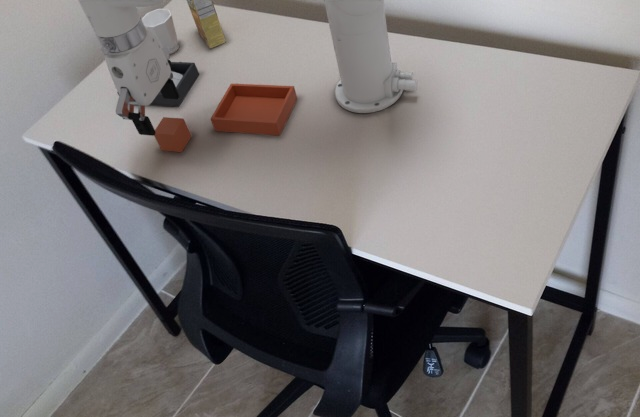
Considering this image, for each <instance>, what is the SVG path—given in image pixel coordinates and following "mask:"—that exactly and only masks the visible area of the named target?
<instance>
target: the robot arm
mask: <svg viewBox="0 0 640 417" xmlns="http://www.w3.org/2000/svg"><path fill="white" fill-rule="evenodd" d="M77 1H78V3H79V5H80V7H81V8H82V11H83V13H84V15H85V16H86V19H87V20H88V22H89V24H90V26H91V28H92V31H93V32H94V35H95V36H96V39H97V40H98V42H99V44H100V47H101V48H100V51H101V53H103V56H104V59H105V63H106V67H107V69H108V72H109V75H110V77H111V80H112V82H113V84H114V87H115V89H116V92H118V93H119V95H118V99H117V103H116V107H115V114H116V115H118V116H119V117H121V118H122V119H123V120H128V121H132V123H133V125H134V127H135V129H136V131H137V133H138V134H139V135H141V136H151V137H155V136H154V135H155V133H156V132H155V127H154V125H153V123H152V121H151V119H150V117H149V116H148V115H146V107H147V106H151V105H150V104H151V103H152V101H153V100H154V99H155V97H156V96H157V95H158V93H159V92H160V91H161V94H162V96H163V98H165V99H178V98H179V97H180V96H179V94H178V91H177V89H176V87H175V84H174V82H173V80H171V79H172V78H173V73H172V72H171V62H172V61H171V60H170V58H171V57H170V54H169V49H168V48H161V47H160V45H159V43H158V41H157V40H156V38H155V37H154V35H153V34H152V32H151V31H150V30H149V29H148V27H146V26H144V24H143V22H142V17H141V15H140V12H139V10H138V8H144V7H154V6H159V5H161V4H163V3H165V2H167V0H77ZM384 1H385V0H323V2H324V7H325V12H326V17H327V21H328V26H329V32H330V36H331V41H332V46H333V50H334V54H335V59H336V65H337V69H338V73H339V80H338V82H337V83H336V85H335V88H334V95H335V99H336V102H337V104H338V105H339V106H340V107H342V108H343V109H344V110H346V111H349V112H352V113H358V114H371V113H376V112H379V111H383V110H385V109H387V108H389V107H390V106H392V105H393V104H395V103H396V102H397V101H398V100H399V99H400V98H401V96H402V95H403V92H404V91H406V92H407V91H408V92H409V91H411V92H416V91H417V90H418V89H417V88H418V80H417V79H414V72H412V71H405V72H404V71H401V70H398V63H397V62H393V61H392V56H391V55H392V54H391V49H390V48H391V47H390V40H389V32H388V26H387V20H386V9H385V2H384ZM118 93H117V94H118ZM133 99H134V100H135V101H133ZM135 106H137V112H135Z"/></svg>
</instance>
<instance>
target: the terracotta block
mask: <svg viewBox="0 0 640 417" xmlns="http://www.w3.org/2000/svg"><path fill="white" fill-rule="evenodd" d="M154 130H155V132H156V133H155V135H154V136H153V137H154V139H155V141H156V143H157V144H158V146H159V148H160V150H161V151H165V152H175V153H183V152H184V150H185V148H186V146H187V145H188V142H189V141H190V140H191V138H192V133H191V131H190V129H189V127H188V124H187V123H186V121H185V119H184V118H181V117H166V116H164V117H162V118H161V120H160V121H159V123H158V125H157V126H156V127H155V128H154Z"/></svg>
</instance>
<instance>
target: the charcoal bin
mask: <svg viewBox="0 0 640 417" xmlns="http://www.w3.org/2000/svg"><path fill="white" fill-rule="evenodd" d="M171 71H173V72H176V73H179V74H181V75H183V77H182V79H181V80H180V82H179V83H178V85H177V86H176V89H177V91H178V94H179V96H180V97H179V98H178V99H165V98H163V96H162V94H161V93H158V95H157V96H156V97H155V99H154V100H153V101H152V103H151V104H150V105H149V106H157V107H158V106H159V107H176V108H179V107H180V106H181V104H182V102H183V101H184V99H185V97H187V95H188V93H189V92H190V90H191V89H192V87H193V85H194V84H195V82H196V81H197V79H198V77H199V76H200V71H199V70H198V68H197V65H196V62H186V61H184V62H183V61H171ZM116 92H117V96H119V93H118V91H116ZM133 101H135V100H134V99H133Z"/></svg>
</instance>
